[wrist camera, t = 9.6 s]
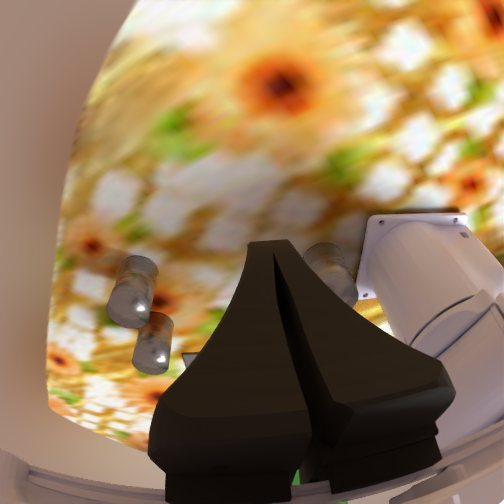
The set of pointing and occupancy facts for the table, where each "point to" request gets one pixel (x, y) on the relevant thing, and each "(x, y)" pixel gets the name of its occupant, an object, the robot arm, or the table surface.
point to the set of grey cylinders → (161, 326)
